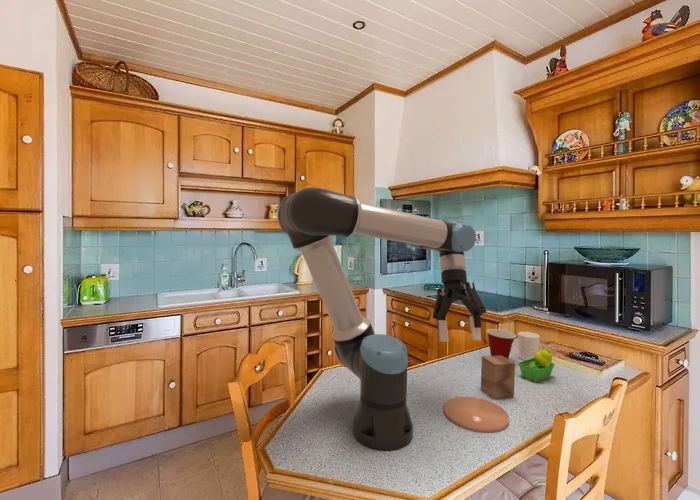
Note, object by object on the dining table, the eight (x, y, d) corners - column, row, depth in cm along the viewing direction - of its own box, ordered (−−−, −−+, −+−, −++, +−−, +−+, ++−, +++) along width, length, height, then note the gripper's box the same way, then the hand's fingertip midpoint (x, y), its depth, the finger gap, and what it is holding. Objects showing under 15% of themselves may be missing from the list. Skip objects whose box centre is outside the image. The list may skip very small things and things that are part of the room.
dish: (462, 435, 86) (462, 430, 86) (433, 402, 103) (434, 398, 103) (522, 429, 89) (523, 424, 89) (485, 398, 106) (485, 394, 106)
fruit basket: (534, 370, 129) (535, 340, 128) (558, 379, 121) (560, 347, 121) (516, 376, 123) (517, 345, 122) (541, 386, 115) (542, 353, 115)
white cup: (539, 357, 143) (540, 333, 142) (538, 363, 136) (539, 338, 136) (518, 353, 147) (519, 330, 146) (516, 359, 140) (517, 335, 140)
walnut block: (493, 399, 105) (494, 364, 105) (480, 389, 112) (481, 356, 111) (513, 398, 106) (515, 363, 106) (500, 388, 113) (501, 355, 113)
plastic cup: (518, 368, 131) (519, 337, 130) (488, 365, 133) (489, 335, 132) (511, 358, 141) (512, 329, 141) (483, 356, 143) (484, 327, 143)
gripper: (493, 262, 98) (503, 339, 91) (437, 279, 119) (441, 342, 113) (473, 259, 94) (482, 339, 88) (419, 277, 116) (423, 341, 110)
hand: (459, 341), depth 101 cm, fingers open, 13 cm apart
